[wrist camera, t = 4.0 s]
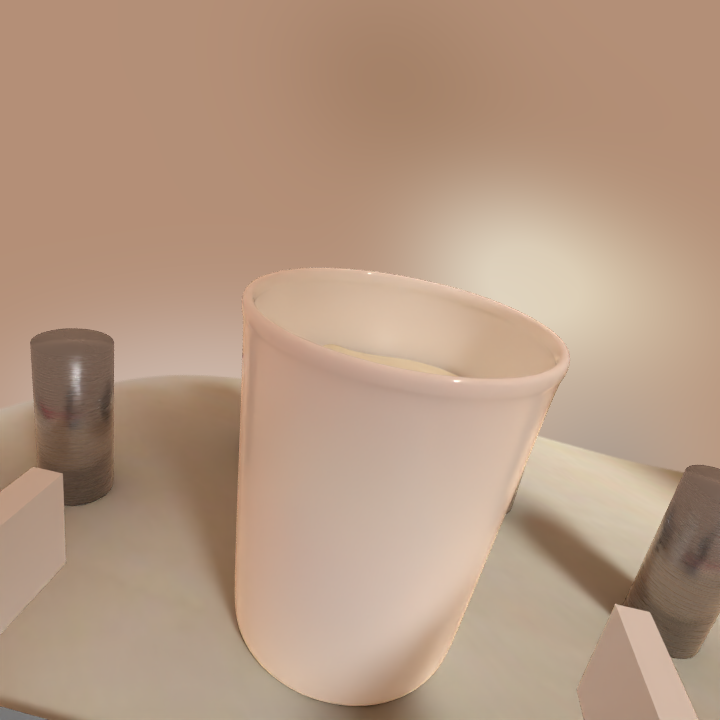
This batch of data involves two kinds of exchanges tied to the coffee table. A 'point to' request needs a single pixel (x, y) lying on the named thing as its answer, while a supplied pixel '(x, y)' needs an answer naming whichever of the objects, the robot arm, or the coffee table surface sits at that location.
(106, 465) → the spacer posts
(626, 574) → the coffee table surface
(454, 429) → the candle holder
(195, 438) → the coffee table surface
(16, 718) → the mat
